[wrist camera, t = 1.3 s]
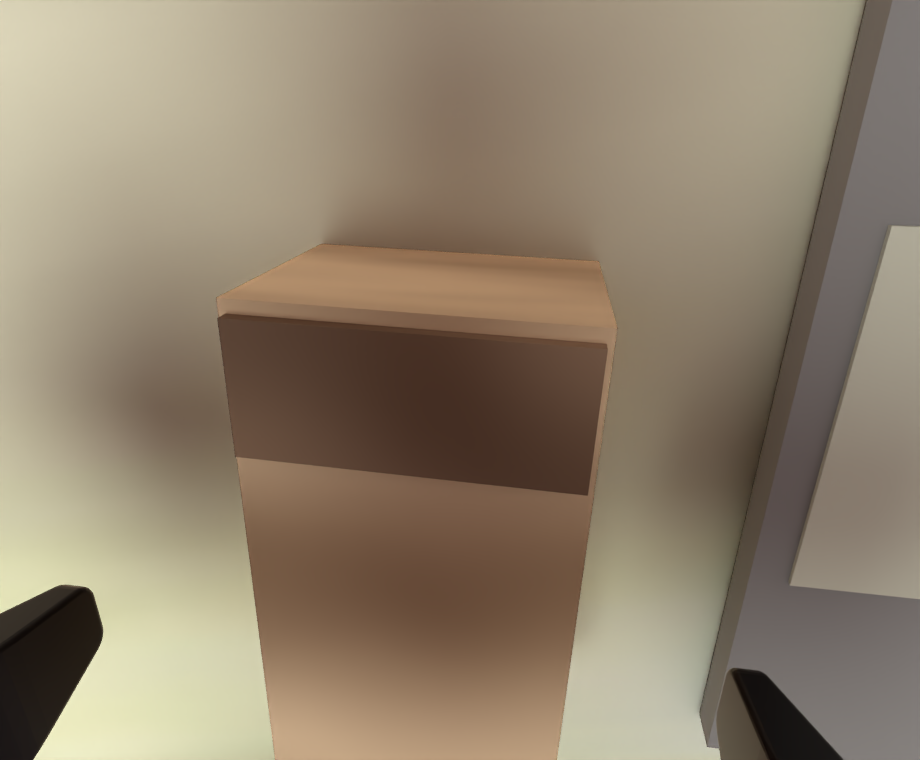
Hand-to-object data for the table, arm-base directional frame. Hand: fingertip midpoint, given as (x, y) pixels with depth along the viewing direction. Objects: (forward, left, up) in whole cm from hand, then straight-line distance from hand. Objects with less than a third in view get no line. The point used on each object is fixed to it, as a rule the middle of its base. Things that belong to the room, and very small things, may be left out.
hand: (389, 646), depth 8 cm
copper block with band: (0, 0, -5) cm, 5 cm away
